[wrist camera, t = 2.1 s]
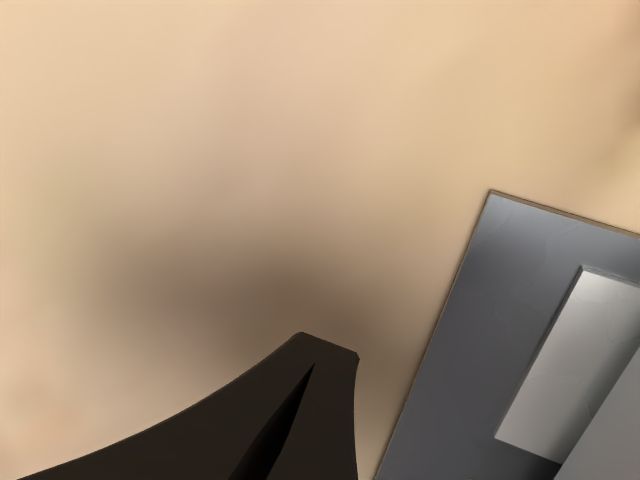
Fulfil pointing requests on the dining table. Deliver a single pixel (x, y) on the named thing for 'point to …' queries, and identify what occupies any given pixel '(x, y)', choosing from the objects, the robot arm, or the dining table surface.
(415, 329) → the dining table surface
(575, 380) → the label panel
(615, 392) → the gray rectangular box
